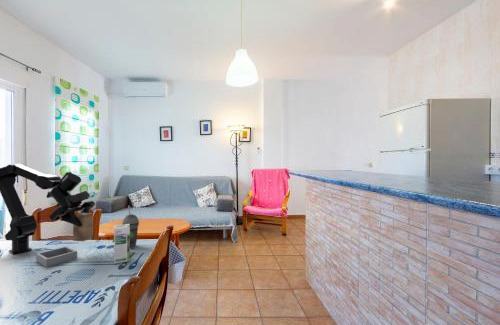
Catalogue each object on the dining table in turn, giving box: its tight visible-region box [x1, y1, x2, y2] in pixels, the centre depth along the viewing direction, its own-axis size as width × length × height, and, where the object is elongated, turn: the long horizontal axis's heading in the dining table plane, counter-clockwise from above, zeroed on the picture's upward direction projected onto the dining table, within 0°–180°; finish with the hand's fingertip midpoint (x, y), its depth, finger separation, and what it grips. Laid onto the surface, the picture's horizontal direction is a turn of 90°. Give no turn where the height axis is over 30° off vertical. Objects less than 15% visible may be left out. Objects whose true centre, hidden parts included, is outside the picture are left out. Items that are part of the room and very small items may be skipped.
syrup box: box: [113, 224, 131, 265], centre depth 101 cm, size 6×6×14 cm
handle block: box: [72, 212, 94, 242], centre depth 107 cm, size 5×5×11 cm
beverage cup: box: [121, 205, 140, 249], centre depth 117 cm, size 7×7×20 cm
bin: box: [35, 245, 78, 268], centre depth 102 cm, size 11×11×3 cm
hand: (86, 224), depth 107 cm, fingers closed on handle block, 5 cm apart
